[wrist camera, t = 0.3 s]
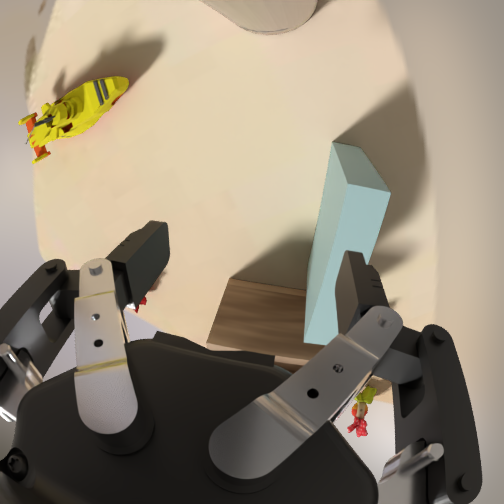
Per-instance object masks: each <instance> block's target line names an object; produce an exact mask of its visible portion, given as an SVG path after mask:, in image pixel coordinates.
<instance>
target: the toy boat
mask: <svg viewBox="0 0 504 504" xmlns="http://www.w3.org/2000/svg"><path fill="white" fill-rule="evenodd" d="M128 85H129V81H128V79H127V78H125V77H120V76H112V77H106V78H101V79H96V80H91V81H87V82H85V83H84V84H82V85H81V86H79V87H77V88H75V89H74V90H72V91H70V92H69V93H67V94H66V95H65V96H64V97H62V98H60V99H59V100H57V101H55V102H54V103H52V104H51V105H50V104H49V103H46V104H44V105H43V106H42V107H41V109H42V113H43V116H42V117H41V118H40V119H39V120H38V121H36V118H35V117H37V113H33V114H31V115H28V116H26V117H25V118H23V119H21V120H20V121H19V122H18V123H19V125H22V124H25V123H26V126H27V129H28V133H29V134H28V136H27V137H28V140H29V143H30V146H31V148H34V150H35V152H36V155H37V157H38V158H36V159H35V160H33V161H32V164H34V163H36V162H38V161H40V160H42V159H44V158H45V157H47V156H48V155H50V154H51V153H50V151H49V152H47V151H46V148H45V144H47V143H48V142H50V141H51V140H52V141H54V140H56V139H61V138H70V137H73V136H76V135H79V134H81V133H83V132H84V131H86V130H87V129H89V128H90V127H92V126H93V125H94V124H95V123H96V122H97V121H98V120H99V118H100V117H101V116H102V115H103V114H104V113H105V112H107V111H109V110H110V109H111V107H112V106H113V105H114V104H115V102H116V101H117V100H118V99H119V98H120V97H121V95H122V94H123V93H124V92H125V91H126V90H127V88H128ZM55 103H56V104H55ZM54 104H55V105H54ZM28 140H27V142H28ZM27 142H26V144H27Z"/></svg>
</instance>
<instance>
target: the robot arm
mask: <svg viewBox="0 0 504 504" xmlns="http://www.w3.org/2000/svg"><path fill="white" fill-rule="evenodd" d="M199 1H201V2H203V3H204V4H206V5H208V6H209V7H211V8H212V9H214V10H215V11H217V12H219V13H220V14H222V15H223V16H225V17H226V18H227V19H229V20H230V21H232V22H233V23H235V24H236V25H237V26H239V27H241V28H243V29H245V30H247V31H250V32H253V33H257V34H264V35H273V34H281V33H286V32H289V31H291V30H294V29H296V28H298V27H299V26H301V25H303V24H304V23H305V22H306V21H307V20H308V19H309V18H310V17H311V16H312V14H313V13H314V11H315V8H316V5H317V1H318V0H199ZM169 257H170V247H169V233H168V225H167V223H166V222H159V221H149V222H148V223H147V224H146V225H145V226H144V227H143V228H142V229H139V230H137V231H135V232H133V233H131V234H130V235H129V236H128V237H127V238H126V239H125V240H124V241H122V242H121V243H120V245H118V246H117V247H116V248H115V249H114V250H113V251H112V252H111V253H110V254H109V255H108V256H107V257H106V258H105V259H103V258H98V259H93V260H90V261H88V262H86V263H85V264H84V265H83V266H82V267H81V269H80V270H67V267H66V264H65V262H64V261H63V260H61V259H53V260H50V261H47V262H46V263H44V264H43V265H42V266H40V267H39V268H38V269H37V270H36V271H35V272H34V274H32V275H31V277H29V279H28V280H27V281H26V282H25V283H24V284H23V285H22V286H21V287H20V288H19V289H18V290H17V291H16V292H15V293H14V294H13V295H12V297H11V298H10V299H9V300H8V301H7V302H6V303H5V304H4V306H3V307H2V308H1V309H0V415H1V416H2V417H3V418H4V419H6V420H7V421H11V422H13V421H16V427H15V434H14V439H13V443H12V447H11V450H10V451H9V453H8V454H7V456H6V457H5V458H4V459H3V460H1V461H0V504H469V503H470V502H472V501H473V500H474V499H475V498H476V497H477V495H478V494H479V492H480V489H481V486H482V470H481V460H480V453H479V445H478V438H477V432H476V427H475V421H474V416H473V411H472V407H471V402H470V398H469V394H468V390H467V386H466V382H465V378H464V375H463V372H462V368H461V364H460V361H459V358H458V355H457V352H456V349H455V346H454V342H453V340H452V337H451V336H450V334H449V333H448V332H447V331H446V330H445V329H443V328H442V327H440V326H438V325H434V324H430V325H427V326H425V327H424V329H423V330H422V332H418V331H415V330H412V329H410V328H407V327H405V326H403V321H402V318H401V317H400V315H399V314H398V313H397V312H396V311H394V310H393V309H391V308H389V304H388V301H387V298H386V295H385V291H384V289H383V285H382V282H381V279H380V276H379V273H378V272H377V271H376V270H375V268H374V267H373V266H372V265H366V262H365V259H364V256H363V253H362V252H356V251H350V250H346V251H345V252H344V255H343V259H342V262H341V266H340V269H339V273H338V276H337V279H336V284H335V300H336V310H337V322H338V335H337V336H336V337H335V338H333V339H332V340H331V341H330V342H329V343H328V344H327V345H326V346H325V347H324V348H323V349H322V350H321V351H319V352H318V353H317V354H316V355H315V356H314V357H313V358H312V359H310V360H309V361H308V362H307V363H306V364H305V365H304V366H302V367H301V368H300V369H299V370H298V371H297V372H295V373H294V374H292V373H290V372H289V371H287V370H285V369H283V368H281V367H279V366H277V365H274V361H275V355H269V354H262V353H257V352H251V351H245V350H239V351H214V350H209V349H207V348H205V347H203V346H201V345H198V344H196V343H194V342H192V341H190V340H188V339H186V338H184V337H179V336H175V335H171V334H167V333H164V332H160V331H157V332H156V334H155V336H154V338H153V339H140V340H135V341H131V342H130V338H129V334H128V329H127V325H126V320H125V316H124V312H123V310H124V308H125V307H128V308H132V309H136V308H137V307H138V305H139V304H140V302H141V301H142V299H143V298H144V296H145V295H146V294H147V292H148V291H149V289H150V288H151V286H152V285H153V284H154V282H155V281H156V279H157V278H158V276H159V275H160V274H161V272H162V271H163V269H164V268H165V267H166V265H167V264H168V261H169ZM48 301H49V302H50V304H51V307H52V309H53V310H52V312H51V313H50V314H49V315H48V317H47V318H46V319H45V320H44V322H43V323H42V324H41V323H40V320H39V315H40V312H41V310H42V309H43V307H44V306H45V305H46V304H47V303H48ZM74 329H75V348H76V363H77V367H75V368H73V369H71V370H69V371H66V372H64V373H62V374H60V375H58V376H55V377H53V378H51V379H49V380H47V381H45V382H43V380H42V379H43V377H44V376H45V374H46V372H47V371H48V369H49V367H50V366H51V364H52V362H53V361H54V359H55V357H56V356H57V355H58V353H59V351H60V350H61V348H62V347H63V345H64V344H65V342H66V340H67V339H68V338H69V336H70V335H71V333H72V332H73V330H74ZM373 375H374V376H377V377H380V378H383V379H386V380H389V381H391V382H392V392H393V405H394V419H395V420H394V421H395V453H396V455H395V456H393V457H392V458H390V459H389V460H388V462H387V463H386V464H385V466H384V469H383V474H382V477H381V480H380V481H379V483H378V484H377V482H376V479H375V477H374V475H373V474H372V472H371V471H370V470H369V468H368V467H367V466H366V465H365V464H364V462H363V461H362V460H361V459H360V457H359V456H358V455H357V454H356V452H355V451H354V450H353V448H352V447H351V446H350V445H349V443H348V442H347V441H346V440H345V438H344V437H343V436H342V434H341V433H340V432H339V431H338V429H337V428H336V427H335V425H334V422H335V421H336V420H337V419H338V418H339V417H340V416H341V414H342V413H343V412H344V411H345V409H346V408H347V407H348V406H349V405H350V403H351V402H352V401H353V400H354V399H355V397H356V396H357V395H358V394H359V393H360V391H361V390H362V389H363V388H364V386H365V385H366V384H367V383H368V381H369V380H370V379H371V377H372V376H373Z"/></svg>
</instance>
